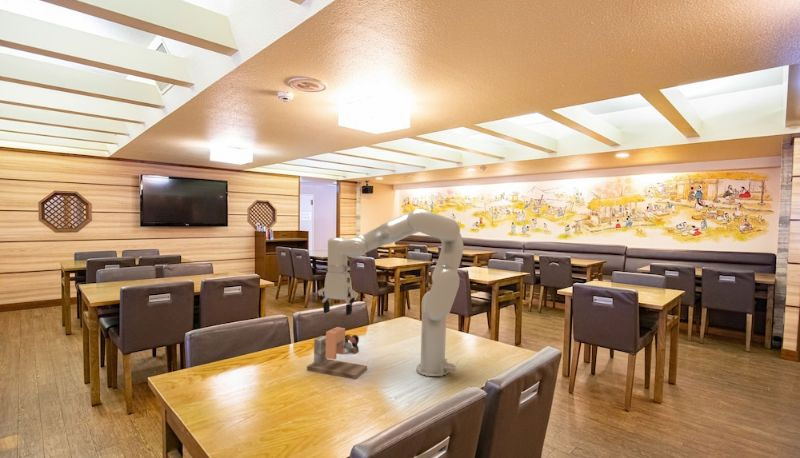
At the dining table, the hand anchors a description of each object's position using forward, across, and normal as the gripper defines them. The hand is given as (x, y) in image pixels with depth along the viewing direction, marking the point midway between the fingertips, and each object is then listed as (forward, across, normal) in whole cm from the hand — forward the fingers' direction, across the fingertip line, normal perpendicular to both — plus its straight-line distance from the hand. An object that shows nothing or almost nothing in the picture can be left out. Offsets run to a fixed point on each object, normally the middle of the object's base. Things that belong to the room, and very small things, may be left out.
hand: (337, 313), depth 149 cm
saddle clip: (+16, +1, 0) cm, 17 cm away
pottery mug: (+22, +6, -22) cm, 32 cm away
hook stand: (+22, 0, 0) cm, 22 cm away
